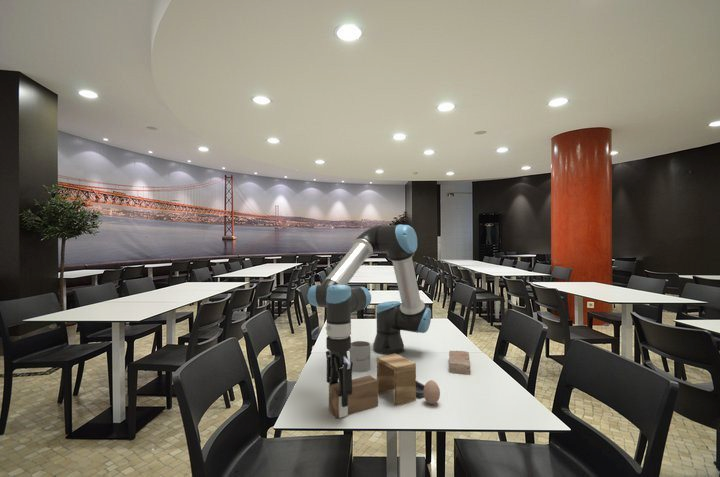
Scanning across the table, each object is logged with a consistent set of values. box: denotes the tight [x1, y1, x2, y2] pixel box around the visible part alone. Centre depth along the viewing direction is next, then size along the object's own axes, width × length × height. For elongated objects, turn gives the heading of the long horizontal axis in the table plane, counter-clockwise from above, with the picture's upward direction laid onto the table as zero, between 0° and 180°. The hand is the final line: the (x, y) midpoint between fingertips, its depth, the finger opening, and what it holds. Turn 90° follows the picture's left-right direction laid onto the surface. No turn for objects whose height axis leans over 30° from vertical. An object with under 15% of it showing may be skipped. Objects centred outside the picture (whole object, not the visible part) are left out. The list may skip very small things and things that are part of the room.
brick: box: [448, 350, 471, 376], centre depth 141 cm, size 17×8×5 cm, turn 164°
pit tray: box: [416, 380, 425, 400], centre depth 118 cm, size 11×6×2 cm, turn 31°
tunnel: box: [376, 354, 417, 407], centre depth 113 cm, size 11×8×12 cm
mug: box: [347, 340, 371, 373], centre depth 139 cm, size 12×9×10 cm
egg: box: [423, 379, 441, 405], centre depth 108 cm, size 5×5×7 cm
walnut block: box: [328, 374, 379, 419], centre depth 105 cm, size 5×15×8 cm, turn 121°
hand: (338, 411), depth 102 cm, fingers closed on walnut block, 5 cm apart
